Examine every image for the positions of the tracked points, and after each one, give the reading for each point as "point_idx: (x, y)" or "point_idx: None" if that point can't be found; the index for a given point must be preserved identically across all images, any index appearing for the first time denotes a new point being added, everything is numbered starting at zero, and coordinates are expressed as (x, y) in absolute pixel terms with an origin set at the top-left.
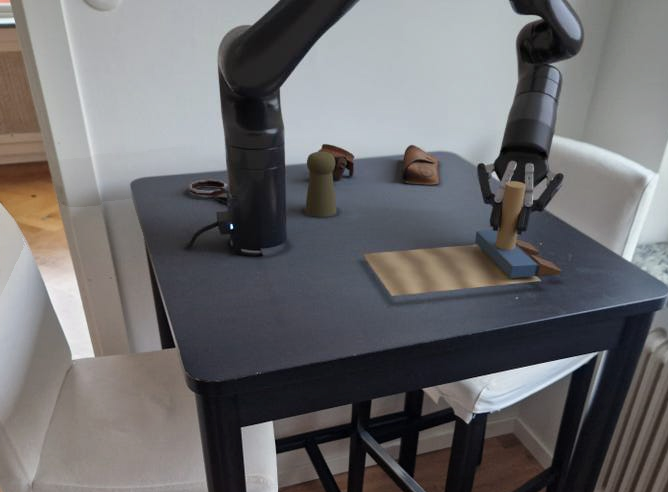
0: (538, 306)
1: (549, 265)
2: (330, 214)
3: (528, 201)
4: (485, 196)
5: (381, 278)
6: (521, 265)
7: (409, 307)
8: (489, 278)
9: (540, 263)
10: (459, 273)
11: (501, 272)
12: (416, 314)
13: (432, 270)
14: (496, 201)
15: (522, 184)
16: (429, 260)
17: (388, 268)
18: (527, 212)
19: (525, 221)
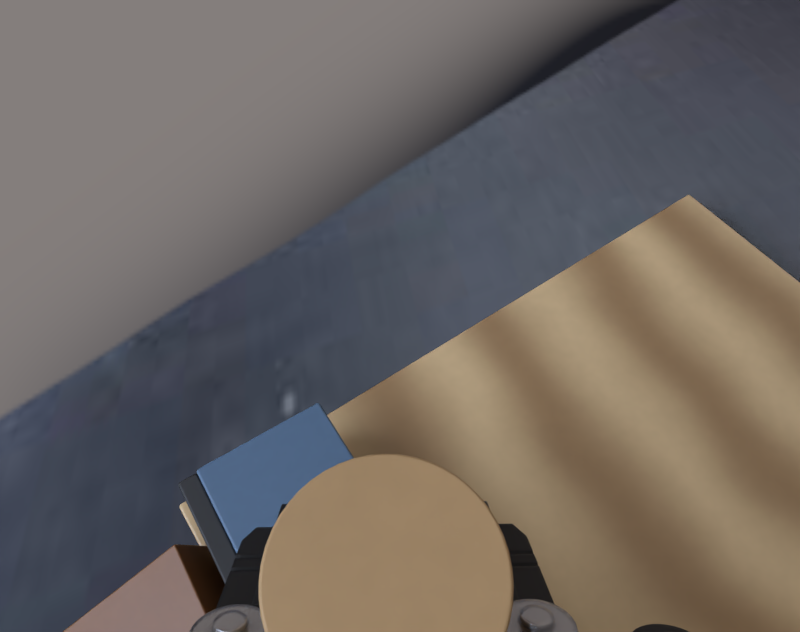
0: (204, 367)
1: (119, 616)
2: None
3: (230, 625)
4: (670, 629)
5: (794, 283)
6: (275, 427)
7: (620, 223)
8: (415, 432)
9: (173, 547)
10: (550, 433)
11: None
12: (582, 195)
13: (666, 418)
14: (540, 603)
15: (304, 610)
16: (732, 518)
17: None
18: (241, 601)
19: (258, 557)
